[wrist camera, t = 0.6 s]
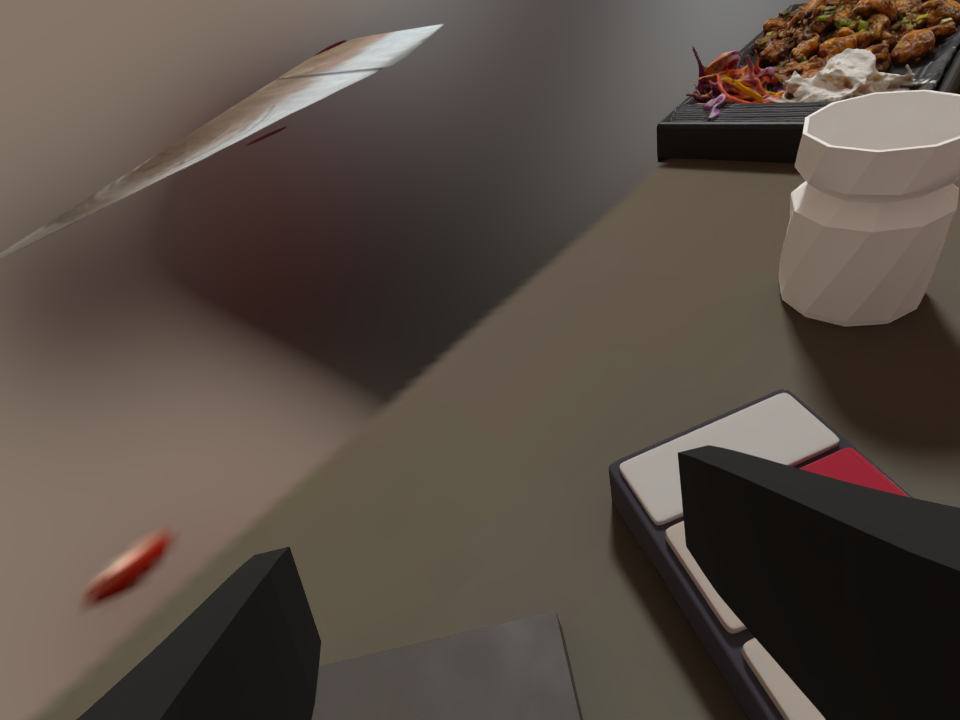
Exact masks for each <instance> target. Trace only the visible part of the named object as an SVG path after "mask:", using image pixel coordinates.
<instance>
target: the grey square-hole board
mask: <svg viewBox="0 0 960 720" xmlns="http://www.w3.org/2000/svg"><path fill="white" fill-rule="evenodd" d="M312 720H583V718H582V713H581V709H580V705H579V700H578V696H577V692H576V687H575V683H574V679H573V674H572V670H571V665H570V661H569V657H568V652H567V648H566V644H565V639H564V635H563V631H562V627H561V624H560V622H559V619H558V616H557V614H556V611H553V612H549V613H545V614H540V615H536V616H532V617H528V618H523V619H519V620H515V621H511V622H506V623H502V624H498V625H494V626H489V627H485V628H481V629H476V630H472V631H468V632H464V633H459V634H455V635H451V636H447V637H442V638H438V639H434V640H430V641H425V642H421V643H417V644H412V645H408V646H404V647H400V648H395V649H391V650H387V651H383V652H378V653H374V654H370V655H366V656H361V657H357V658H353V659H349V660H344V661H340V662H336V663H331V664H327V665H323V666H319V670H318V680H317V690H316V699H315V705H314V710H313V715H312Z"/></svg>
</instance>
